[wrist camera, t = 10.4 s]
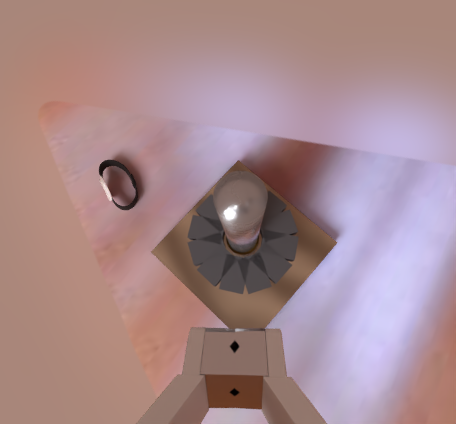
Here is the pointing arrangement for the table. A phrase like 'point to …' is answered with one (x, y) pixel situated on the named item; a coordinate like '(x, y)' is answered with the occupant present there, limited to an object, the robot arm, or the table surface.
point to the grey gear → (251, 265)
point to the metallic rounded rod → (241, 210)
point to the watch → (101, 169)
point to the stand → (245, 303)
